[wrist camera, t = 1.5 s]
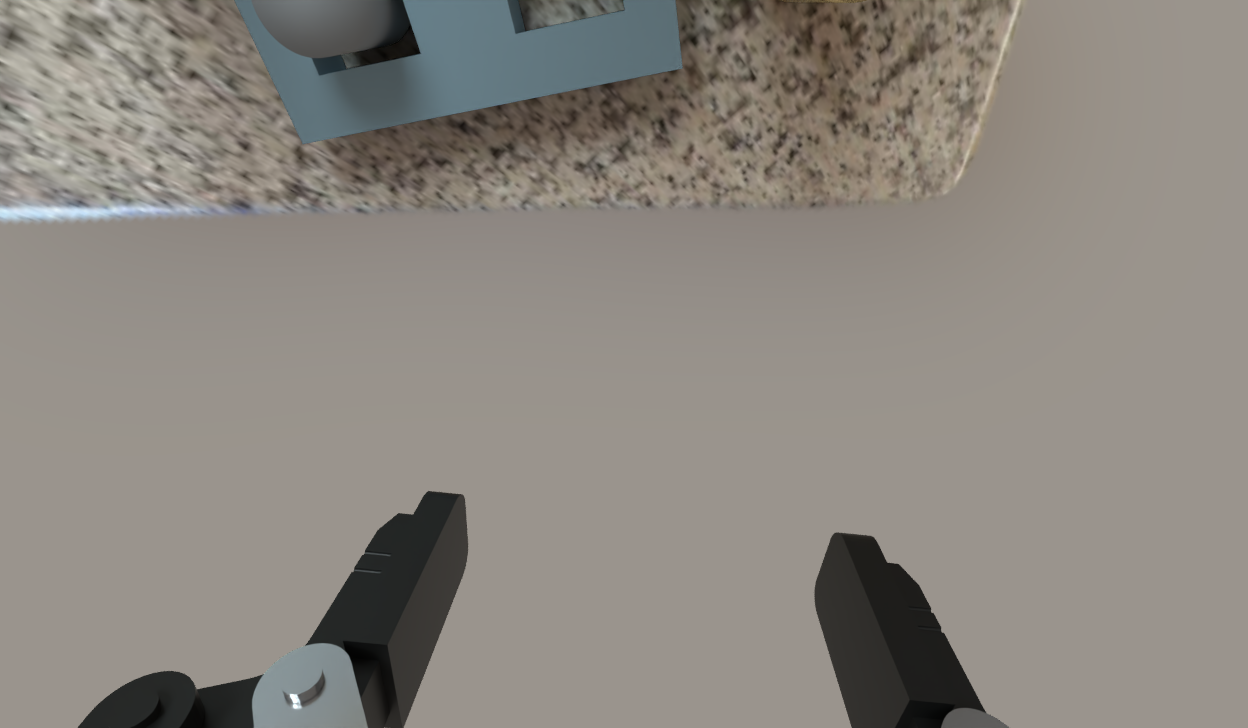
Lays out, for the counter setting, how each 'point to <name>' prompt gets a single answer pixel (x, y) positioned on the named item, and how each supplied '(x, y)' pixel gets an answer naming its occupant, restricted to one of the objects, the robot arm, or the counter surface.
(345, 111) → the jig
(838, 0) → the gold cylinder
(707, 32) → the counter surface
